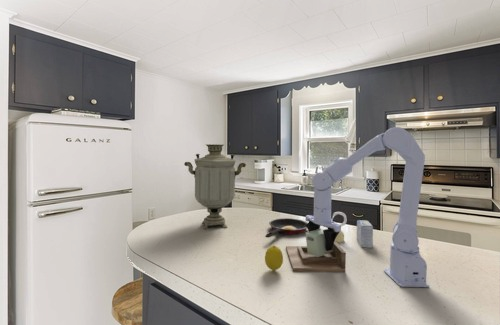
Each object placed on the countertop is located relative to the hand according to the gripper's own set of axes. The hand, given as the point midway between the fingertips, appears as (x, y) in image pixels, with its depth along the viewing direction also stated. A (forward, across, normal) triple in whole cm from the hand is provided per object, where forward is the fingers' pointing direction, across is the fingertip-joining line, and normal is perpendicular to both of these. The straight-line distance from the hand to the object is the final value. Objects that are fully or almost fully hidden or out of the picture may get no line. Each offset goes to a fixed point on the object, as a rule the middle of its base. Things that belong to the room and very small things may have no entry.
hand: (321, 246), depth 88 cm
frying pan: (+5, +28, -5) cm, 29 cm away
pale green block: (+2, 0, 0) cm, 2 cm away
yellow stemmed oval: (+5, +10, -20) cm, 23 cm away
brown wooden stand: (+4, +2, +3) cm, 5 cm away
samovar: (+5, +57, +16) cm, 59 cm away
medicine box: (+5, +2, -26) cm, 26 cm away
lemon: (+5, +1, +19) cm, 20 cm away
